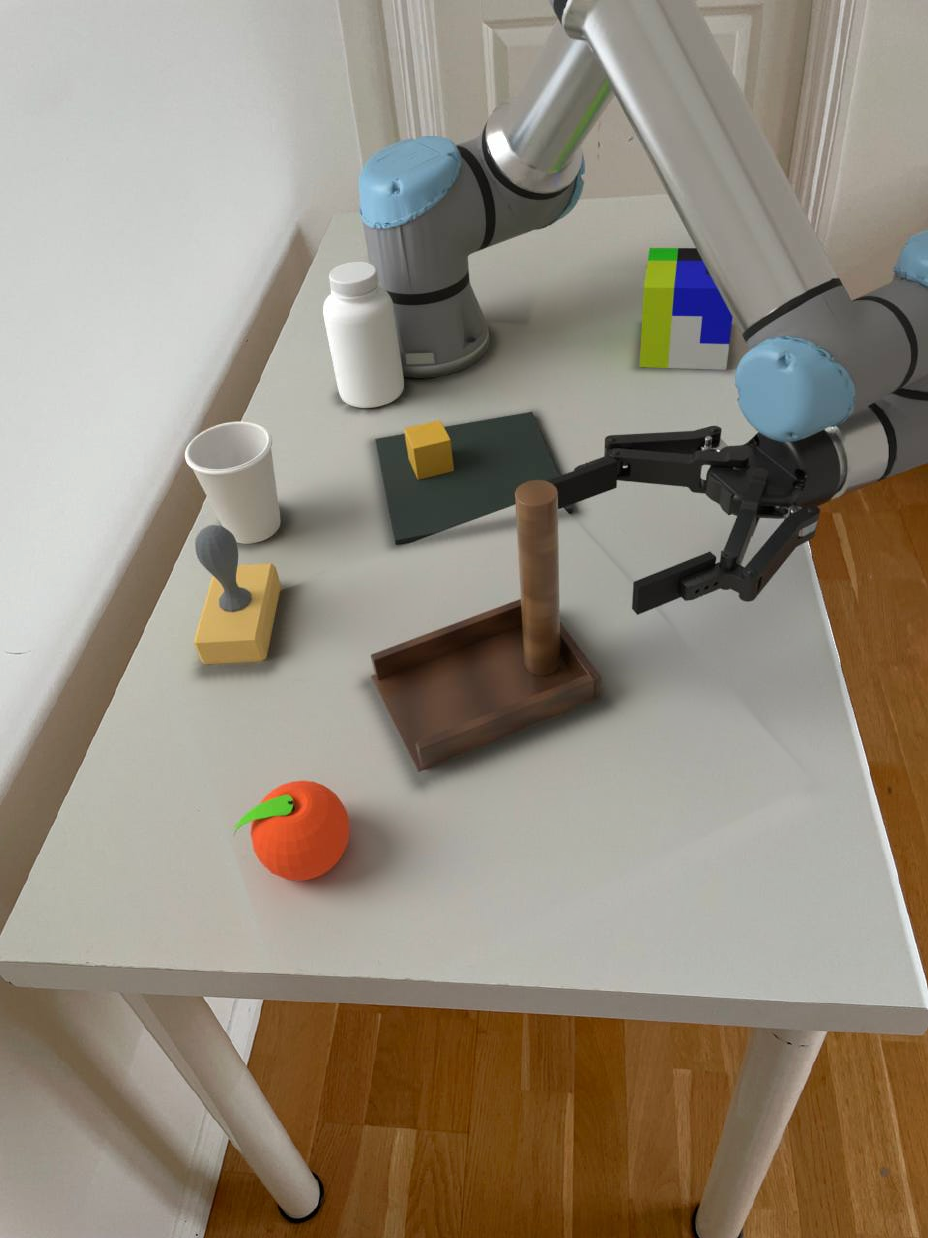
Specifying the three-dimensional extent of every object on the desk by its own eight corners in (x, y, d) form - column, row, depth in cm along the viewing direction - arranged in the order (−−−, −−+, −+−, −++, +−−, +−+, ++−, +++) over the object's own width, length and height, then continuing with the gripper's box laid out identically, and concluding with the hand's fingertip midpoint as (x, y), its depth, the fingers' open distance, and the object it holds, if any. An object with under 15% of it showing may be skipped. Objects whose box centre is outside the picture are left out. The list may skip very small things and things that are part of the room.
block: (440, 419, 99) (403, 428, 99) (450, 439, 97) (413, 448, 96) (443, 450, 102) (408, 459, 102) (454, 471, 99) (417, 480, 99)
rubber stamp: (268, 668, 82) (233, 567, 74) (203, 671, 83) (161, 571, 74) (283, 590, 89) (253, 489, 81) (224, 593, 90) (187, 493, 81)
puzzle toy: (726, 369, 110) (736, 288, 103) (639, 367, 112) (643, 287, 105) (727, 327, 116) (736, 248, 109) (645, 325, 118) (649, 247, 111)
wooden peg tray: (539, 620, 84) (532, 442, 70) (600, 704, 76) (606, 525, 63) (372, 683, 80) (331, 509, 67) (419, 779, 73) (384, 605, 59)
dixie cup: (284, 492, 100) (261, 411, 93) (301, 538, 95) (279, 456, 88) (206, 513, 99) (178, 434, 92) (220, 562, 93) (191, 481, 86)
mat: (375, 442, 105) (375, 438, 105) (532, 415, 106) (532, 411, 106) (395, 544, 93) (394, 540, 92) (572, 512, 94) (572, 508, 93)
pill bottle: (415, 377, 114) (398, 257, 104) (390, 413, 109) (370, 291, 99) (355, 371, 117) (333, 253, 106) (328, 406, 111) (302, 286, 101)
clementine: (250, 912, 66) (223, 859, 61) (247, 829, 71) (222, 774, 66) (362, 887, 67) (345, 833, 62) (351, 806, 72) (334, 750, 67)
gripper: (912, 582, 72) (676, 685, 67) (717, 424, 88) (516, 496, 83) (939, 505, 66) (684, 610, 61) (726, 352, 83) (512, 424, 78)
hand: (587, 545), depth 72 cm, fingers open, 13 cm apart
